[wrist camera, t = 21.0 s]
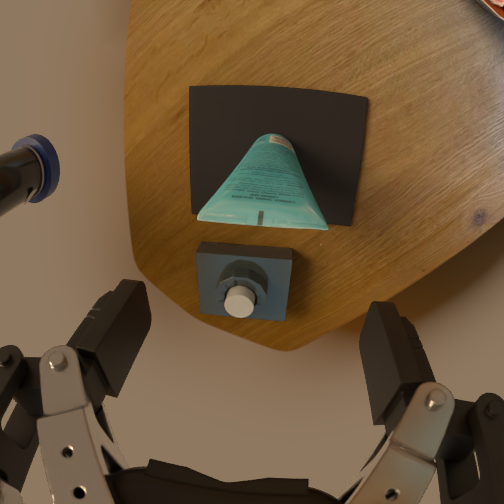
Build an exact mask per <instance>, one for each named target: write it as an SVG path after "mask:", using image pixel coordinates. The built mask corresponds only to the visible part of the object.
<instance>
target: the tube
mask: <svg viewBox="0 0 504 504" xmlns="http://www.w3.org/2000/svg"><path fill="white" fill-rule="evenodd" d="M197 220H199V221H209V222H218V223H228V224H241V225H253V226H265V227H279V228H296V229H317V230H329V228H328V225H327V223H326V221H325V219H324V217H323V215H322V213H321V211H320V209H319V207H318V205H317V203H316V201H315V199H314V197H313V194H312V192H311V190H310V188H309V186H308V183H307V181H306V179H305V176H304V174H303V171H302V169H301V166H300V164H299V161H298V159H297V157H296V154H295V151H294V149H293V147H292V145H291V143H290V142H289V141H288V140H287V139H286V138H285V137H283V136H281V135H278V134H266V135H263V136H261V137H260V138H258V139H257V140H256V141H255V143H254V144H253V145H252V147H251V148H250V149H249V151H248V152H247V154H246V155H245V156H244V158H243V159H242V160H241V162H240V163H239V164H238V166H237V167H236V168H235V169H234V171H233V172H232V173H231V175H230V176H229V177H228V178H227V180H226V181H225V182H224V183H223V184H222V186H221V187H220V188H219V189H218V191H217V192H216V193H215V194H214V195H213V196H212V198H211V199H210V200H209V201H208V202H207V203H206V205H205V206H204V207H203V208H202V209H201V211H200V212H199V214H198V217H197Z"/></svg>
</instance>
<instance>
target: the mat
mask: <svg viewBox="0 0 504 504" xmlns="http://www.w3.org/2000/svg"><path fill="white" fill-rule="evenodd" d="M366 109H367V97H362V96H356V95H350V94H343V93H336V92H328V91H320V90H311V89H300V88H288V87H273V86H246V85H212V86H189V144H190V183H191V207H192V214H199V212H200V211H201V209H202V208H203V207H204V206H205V205H206V203H207V202H208V201H209V200H210V199H211V198H212V196H213V195H214V194H215V193H216V192H217V191H218V189H219V188H220V187H221V186H222V184H223V183H224V182H225V181H226V180H227V178H228V177H229V176H230V175H231V173H232V172H233V171H234V169H235V168H236V167H237V166H238V164H239V163H240V162H241V160H242V159H243V158H244V156H245V155H246V154H247V152H248V151H249V149H250V148H251V147H252V145H253V144H254V143H255V141H256V140H257V139H258V138H260V137H261V136H263V135H266V134H278V135H281V136H283V137H285V138H286V139H287V140H288V141H289V142H290V143H291V145H292V147H293V149H294V151H295V154H296V157H297V159H298V161H299V164H300V166H301V169H302V171H303V174H304V176H305V179H306V181H307V183H308V186H309V188H310V190H311V192H312V194H313V197H314V199H315V201H316V203H317V205H318V207H319V209H320V211H321V213H322V215H323V217H324V219H325V221H326V223H327V224H335V225H346V226H350V225H351V220H352V214H353V208H354V202H355V196H356V190H357V183H358V177H359V170H360V162H361V155H362V147H363V138H364V129H365V119H366Z"/></svg>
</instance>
